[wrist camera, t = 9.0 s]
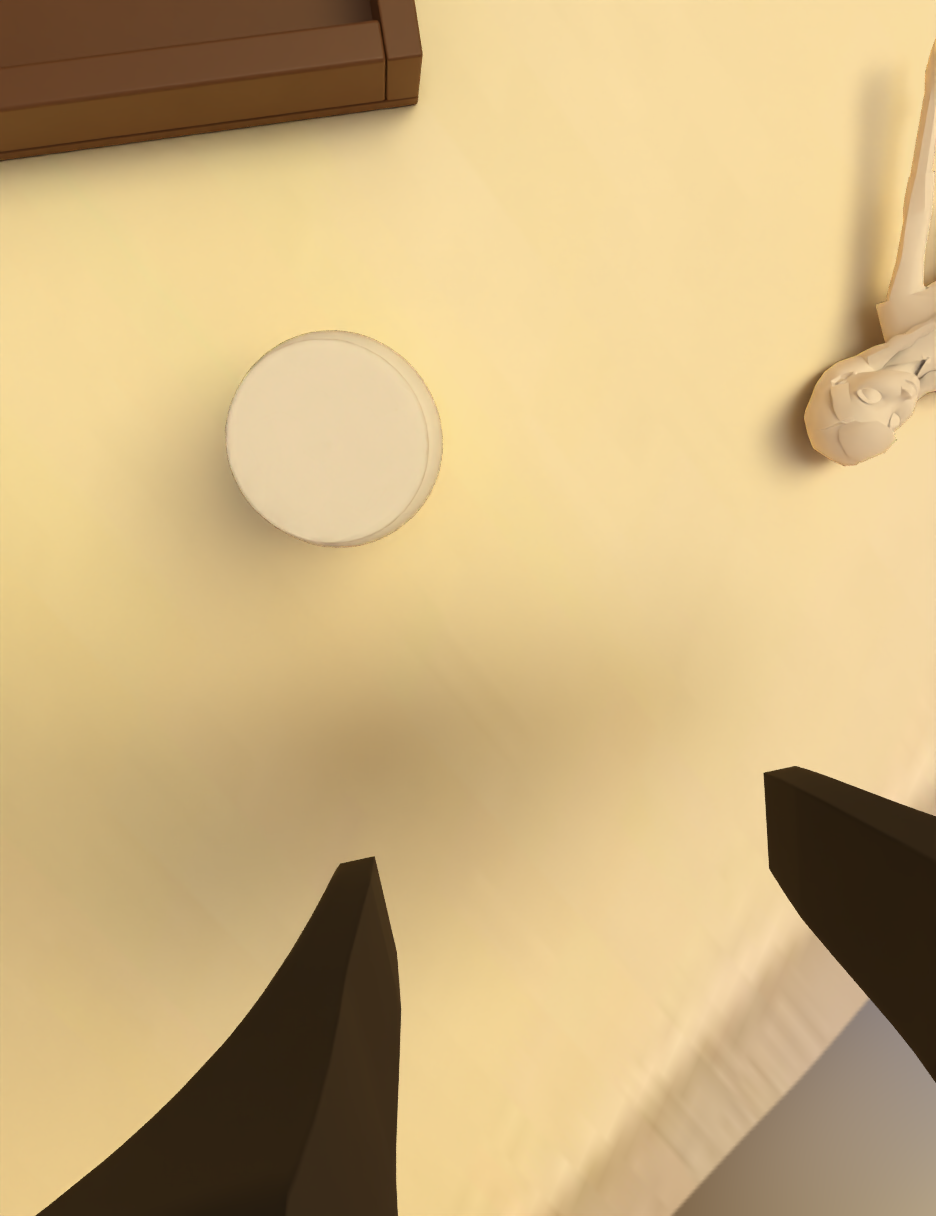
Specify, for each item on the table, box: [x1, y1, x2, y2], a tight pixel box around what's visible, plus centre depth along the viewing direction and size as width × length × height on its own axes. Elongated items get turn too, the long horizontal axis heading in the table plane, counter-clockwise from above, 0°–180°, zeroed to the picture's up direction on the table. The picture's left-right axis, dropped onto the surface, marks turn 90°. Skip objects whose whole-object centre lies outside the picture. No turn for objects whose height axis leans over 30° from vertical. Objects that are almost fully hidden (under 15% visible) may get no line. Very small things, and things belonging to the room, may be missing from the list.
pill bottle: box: [226, 331, 443, 548], centre depth 16 cm, size 4×4×8 cm
